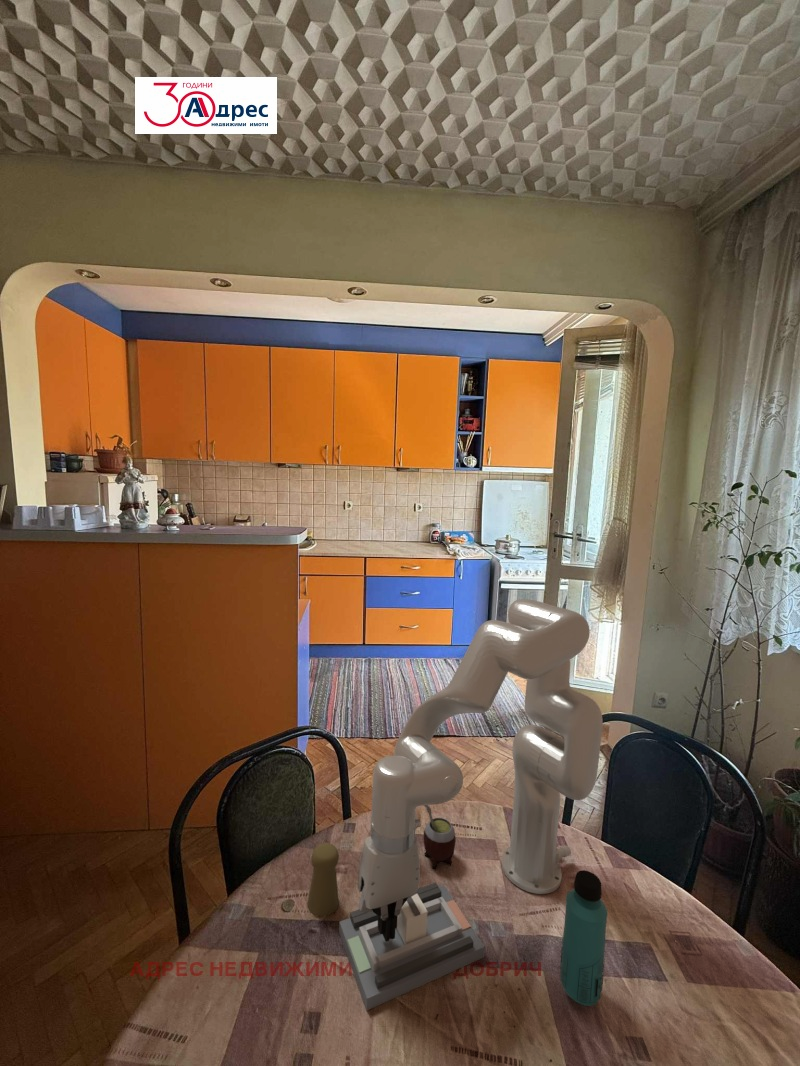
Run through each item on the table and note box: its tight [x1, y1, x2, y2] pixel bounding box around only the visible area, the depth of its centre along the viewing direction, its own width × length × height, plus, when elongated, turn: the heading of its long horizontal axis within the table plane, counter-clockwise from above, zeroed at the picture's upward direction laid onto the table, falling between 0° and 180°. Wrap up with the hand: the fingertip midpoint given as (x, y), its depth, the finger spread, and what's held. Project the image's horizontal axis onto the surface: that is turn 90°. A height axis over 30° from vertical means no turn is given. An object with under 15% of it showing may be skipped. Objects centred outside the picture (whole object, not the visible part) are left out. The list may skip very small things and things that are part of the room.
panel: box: [338, 882, 486, 1011], centre depth 82 cm, size 22×14×3 cm, turn 115°
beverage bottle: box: [559, 869, 608, 1007], centre depth 74 cm, size 6×7×20 cm
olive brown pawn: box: [306, 842, 340, 918], centre depth 89 cm, size 6×6×11 cm
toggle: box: [397, 894, 428, 945], centre depth 81 cm, size 4×4×5 cm
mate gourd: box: [423, 805, 457, 871], centre depth 101 cm, size 8×8×15 cm
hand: (386, 932), depth 80 cm, fingers closed
